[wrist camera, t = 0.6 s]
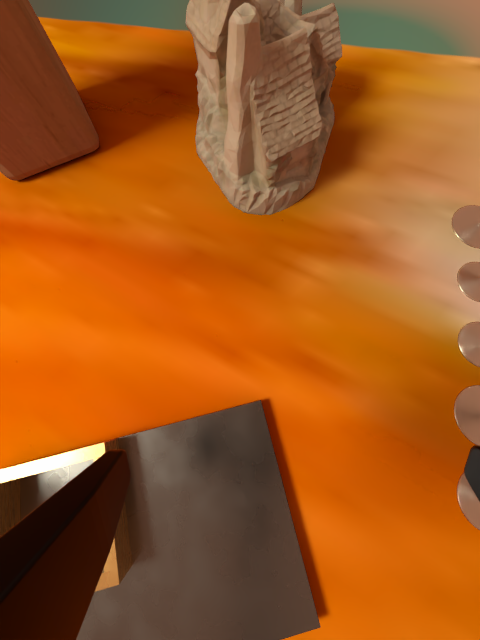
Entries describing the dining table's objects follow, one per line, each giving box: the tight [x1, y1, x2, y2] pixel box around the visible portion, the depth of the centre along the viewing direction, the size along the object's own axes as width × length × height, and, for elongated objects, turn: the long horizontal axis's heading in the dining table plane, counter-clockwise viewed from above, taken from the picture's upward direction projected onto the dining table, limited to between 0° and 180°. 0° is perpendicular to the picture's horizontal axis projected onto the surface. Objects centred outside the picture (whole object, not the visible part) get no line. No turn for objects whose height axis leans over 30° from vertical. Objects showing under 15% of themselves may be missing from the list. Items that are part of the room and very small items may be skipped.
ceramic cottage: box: [186, 0, 342, 215], centre depth 22 cm, size 16×16×15 cm
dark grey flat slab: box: [0, 400, 320, 640], centre depth 18 cm, size 14×20×3 cm
